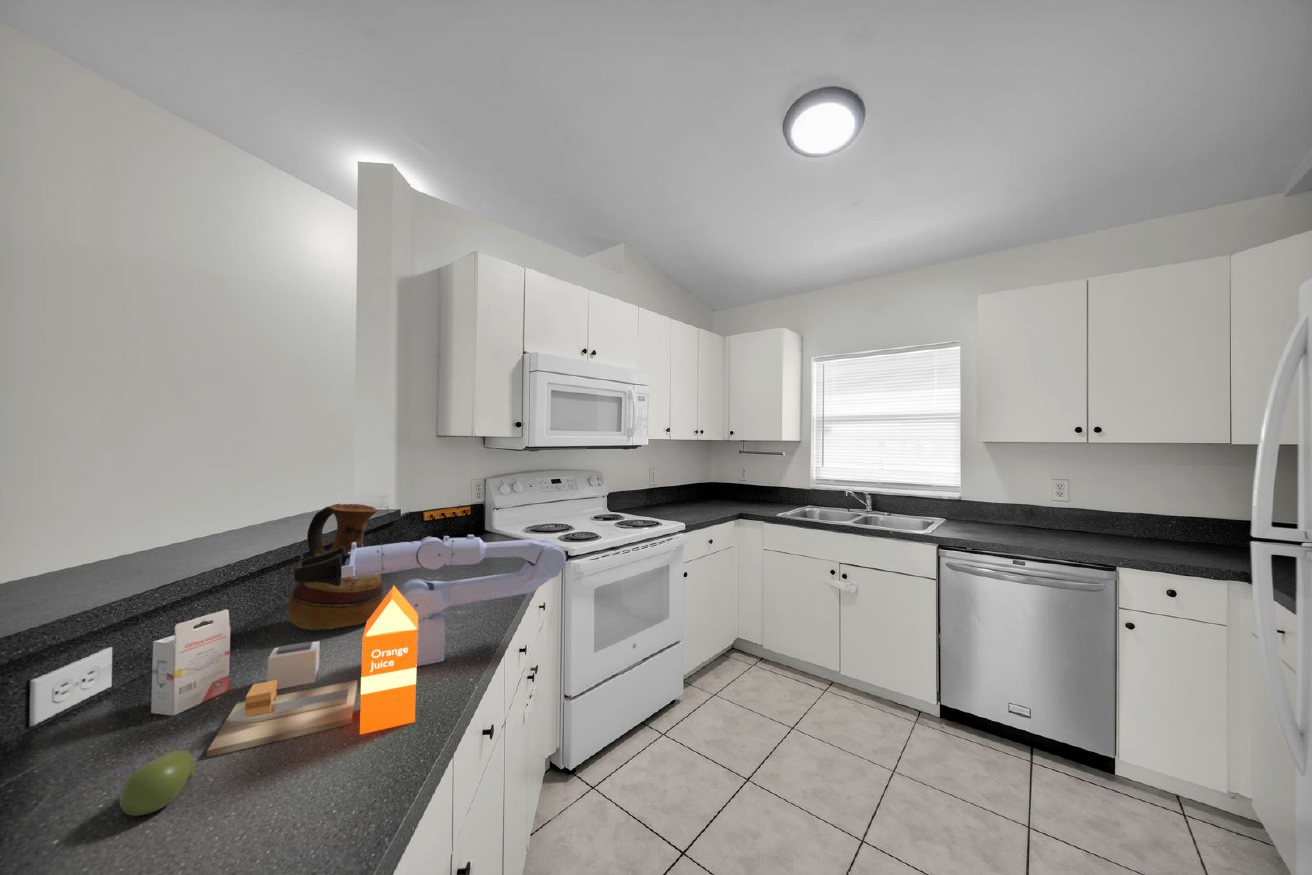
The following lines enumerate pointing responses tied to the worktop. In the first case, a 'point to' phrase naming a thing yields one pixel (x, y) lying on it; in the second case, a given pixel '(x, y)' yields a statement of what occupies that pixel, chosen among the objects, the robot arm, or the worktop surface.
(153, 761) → the olive green oval piece
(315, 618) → the ceramic pitcher
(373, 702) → the orange juice
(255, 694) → the block
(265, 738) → the mounting board
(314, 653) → the block
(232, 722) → the steel rail
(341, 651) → the worktop surface
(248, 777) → the worktop surface
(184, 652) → the ink cartridge box
